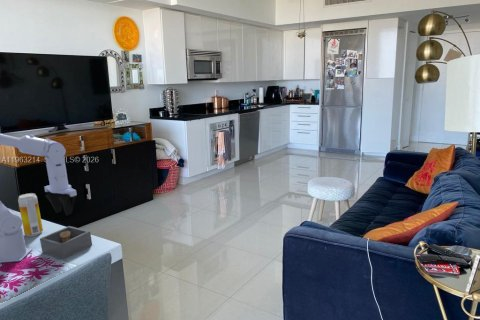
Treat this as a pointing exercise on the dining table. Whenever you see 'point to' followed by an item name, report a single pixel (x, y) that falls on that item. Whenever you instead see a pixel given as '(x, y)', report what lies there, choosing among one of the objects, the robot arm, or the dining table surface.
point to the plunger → (65, 236)
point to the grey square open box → (68, 248)
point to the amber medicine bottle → (30, 214)
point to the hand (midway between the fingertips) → (63, 213)
